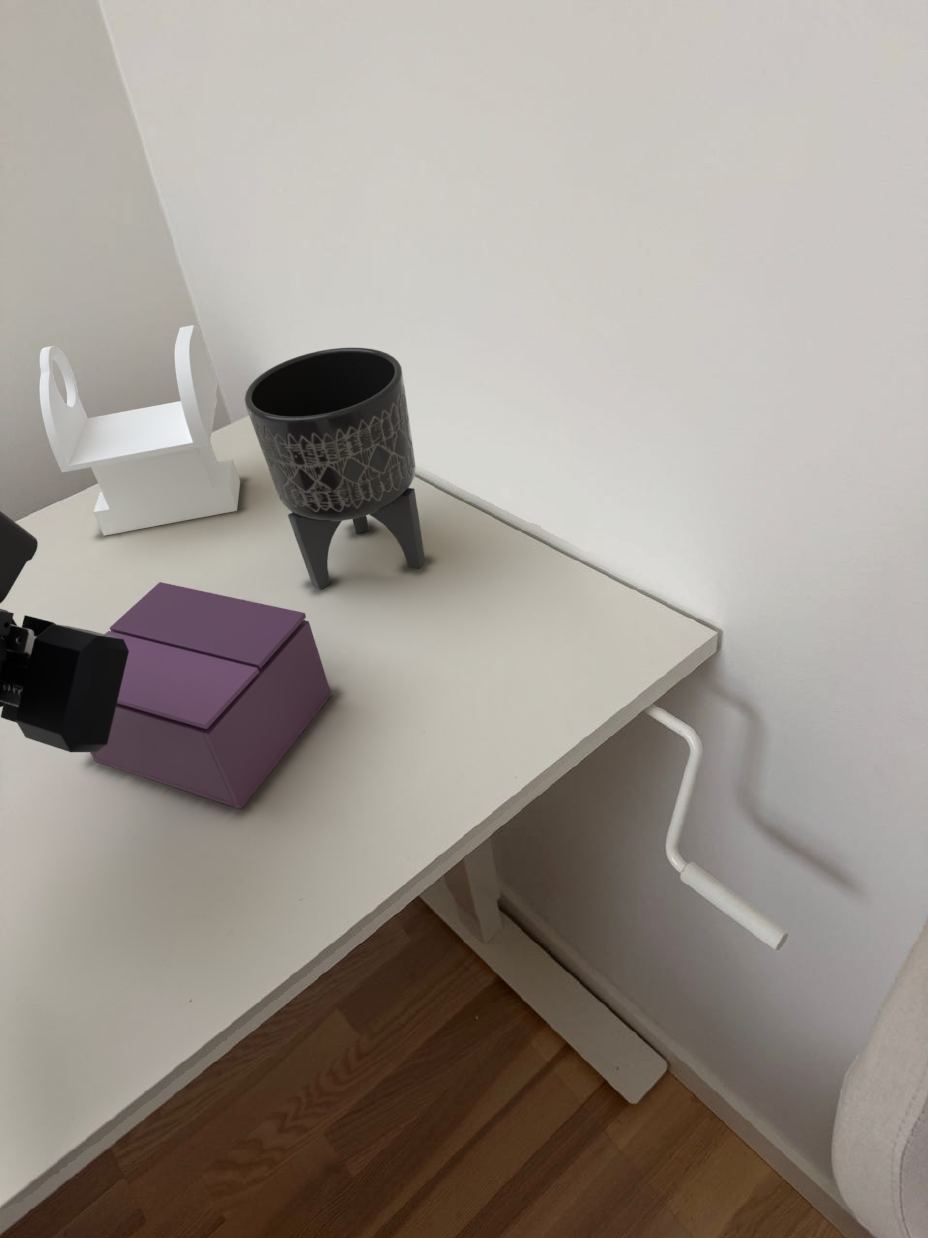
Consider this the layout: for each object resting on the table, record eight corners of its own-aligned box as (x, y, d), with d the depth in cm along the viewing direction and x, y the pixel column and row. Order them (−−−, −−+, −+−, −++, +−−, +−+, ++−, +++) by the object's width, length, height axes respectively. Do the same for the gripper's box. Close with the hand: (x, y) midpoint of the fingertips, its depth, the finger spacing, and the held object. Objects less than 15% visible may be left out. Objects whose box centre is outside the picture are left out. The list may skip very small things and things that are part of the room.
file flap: (206, 729, 62) (205, 725, 61) (53, 684, 67) (51, 680, 67) (259, 672, 66) (258, 667, 65) (110, 634, 71) (108, 630, 71)
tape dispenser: (97, 550, 96) (21, 384, 85) (118, 486, 106) (52, 330, 95) (236, 524, 96) (178, 355, 85) (243, 462, 106) (192, 304, 95)
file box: (241, 809, 66) (204, 726, 61) (94, 761, 72) (49, 681, 67) (331, 695, 74) (306, 612, 69) (192, 659, 80) (159, 581, 75)
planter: (295, 535, 93) (244, 364, 82) (425, 508, 94) (392, 335, 83) (299, 614, 83) (242, 432, 72) (445, 583, 84) (410, 398, 72)
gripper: (26, 515, 44) (237, 572, 58) (-217, 469, 51) (21, 529, 66) (-31, 756, 43) (196, 754, 57) (-267, 672, 51) (-16, 688, 65)
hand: (94, 672), depth 61 cm, fingers closed
